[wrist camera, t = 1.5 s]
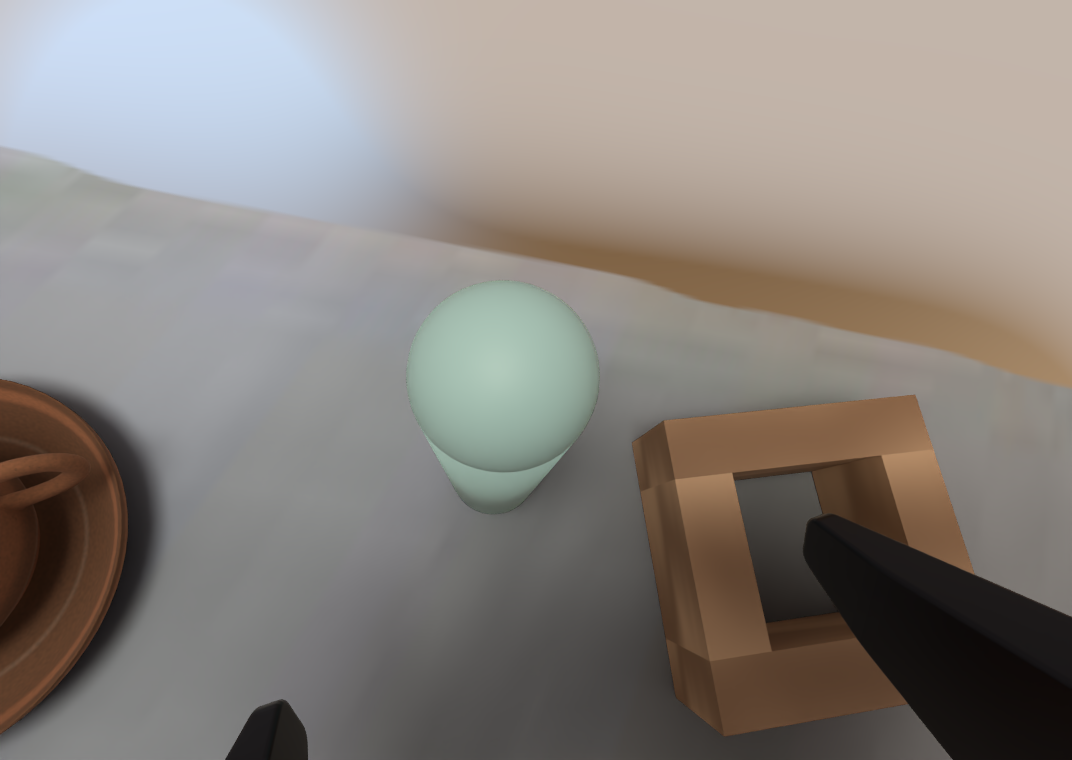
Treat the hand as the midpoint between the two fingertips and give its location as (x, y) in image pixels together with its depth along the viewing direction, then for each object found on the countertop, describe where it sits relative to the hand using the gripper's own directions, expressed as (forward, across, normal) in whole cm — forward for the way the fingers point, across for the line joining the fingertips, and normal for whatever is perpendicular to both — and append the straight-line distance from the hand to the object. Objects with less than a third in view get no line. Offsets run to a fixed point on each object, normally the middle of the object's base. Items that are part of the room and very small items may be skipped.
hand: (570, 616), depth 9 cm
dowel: (+11, 0, +5) cm, 12 cm away
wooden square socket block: (+7, -9, +9) cm, 14 cm away
